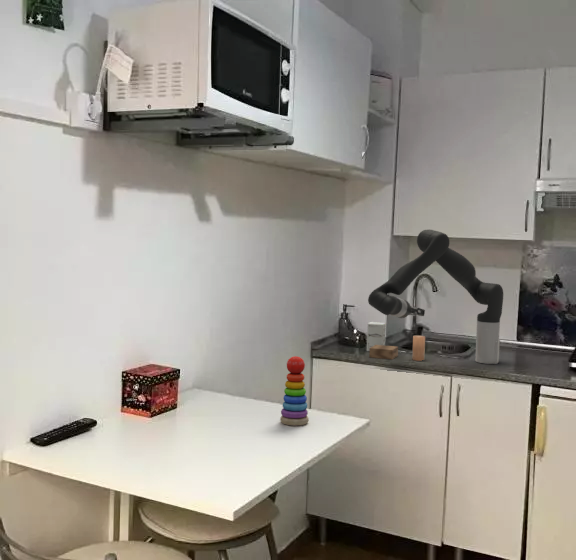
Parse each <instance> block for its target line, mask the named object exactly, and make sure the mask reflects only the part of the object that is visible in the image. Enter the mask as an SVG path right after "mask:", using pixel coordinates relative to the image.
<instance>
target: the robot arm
mask: <svg viewBox="0 0 576 560" xmlns="http://www.w3.org/2000/svg"><path fill="white" fill-rule="evenodd" d="M416 244H417V247H418V249H419V251H421V252H422V253H421V254H420V255H419V256H417V257H416V258H415V259H413V260H411V261H409V262H408V263H406V264H404V265H402V266H401V267H400V268H399V269H397V271H395V272H394V274H393V275H392V276H391V277H390V278H389V279H388V280H387V281H386V282H384V283H383V284H381V285H380V286H379V287H377V288H375V289H374V290H372V292H370V294H369V296H368V298H367V301H368V302H367V303H368V304H369V306H371V308H374V309H375V310H377V311H378V312H379V313H381V314H383V315H385V316H389V315H391V316H392V317H396V318H399V319H404V318H407V317H408V316H413V317H415V316H418V317H424V316H425V312H426V310H425V309H423V308H420V307H415V306H412V305H411V304H410V303H409V301H408V300H406V299H403V298H400V297H396V296H397V295H398V296H400V295H402V294H403V293H404V292H405V291H406V290H407V288H408V287H409V286H410V285H411V284H412V282H413V281H414V280H415V279H416V278H417V277H419V275H420V274H422V273H423V272H424V271H426V269H428V268H430V266H431V265H433V263H435V262H436V263H437V264H438V265H439V266H440V267H441V268H442V269H443V270H444V271H445V272H447V274H449V275H450V277H451V278H453V279H454V280H455V281H456V282H457V283H458V284H459V285H460V286H461V287H463V288H464V289H465V290H466V291H467V292H468V294H469V295H470V296H471V297H472V298H473V299H474V300H475V302H476V303H478V304H480V305H484V306H487V307H486V310H485V311H483V312H480V313H478V314H477V316H476V337H475V362H476V363H479V364H486V365H493V364H494V365H497V364H498V363H499V362H500V361H499V359H500V327H501V326H500V324H501V317H502V313H503V306H504V304H503V302H504V290H503V289H504V288H503V286H502V285H501V284H499V283H492V282H491V283H489V282H485V281H481V280H480V279H479V278H478V277H477V274H476V267H475V266H474V264H472V262H470V260H468V259H467V258H466V257H465V256H464V255H462V254H461V253H459V252H458V251H455V250H453V249H452V248H450V238H449V236H448V234H446V233H444V232H441V231H438V230H434V229H423V230H422V231H420V232H419V233H418V235H417V238H416ZM389 294H393V295H396V296H393V295H389Z"/></svg>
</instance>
